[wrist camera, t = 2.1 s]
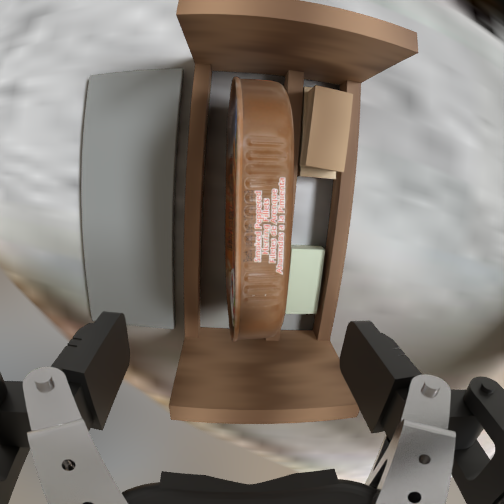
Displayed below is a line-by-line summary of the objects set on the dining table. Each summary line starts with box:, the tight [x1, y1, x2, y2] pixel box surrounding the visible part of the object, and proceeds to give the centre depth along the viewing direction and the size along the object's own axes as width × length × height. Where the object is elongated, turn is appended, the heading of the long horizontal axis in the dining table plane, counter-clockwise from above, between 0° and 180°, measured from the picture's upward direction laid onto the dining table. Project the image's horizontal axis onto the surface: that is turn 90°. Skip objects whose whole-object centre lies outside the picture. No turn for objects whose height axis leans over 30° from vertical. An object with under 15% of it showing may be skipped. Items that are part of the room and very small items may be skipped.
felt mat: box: [81, 68, 183, 329], centre depth 20 cm, size 7×19×1 cm, turn 176°
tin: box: [225, 77, 294, 342], centre depth 17 cm, size 15×3×8 cm, turn 179°
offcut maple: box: [297, 87, 336, 179], centre depth 19 cm, size 2×6×2 cm, turn 177°
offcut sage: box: [285, 245, 325, 314], centre depth 23 cm, size 2×5×1 cm, turn 177°
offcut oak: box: [299, 85, 353, 172], centre depth 18 cm, size 2×5×2 cm, turn 173°
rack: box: [169, 0, 418, 424], centre depth 17 cm, size 11×21×9 cm, turn 176°
